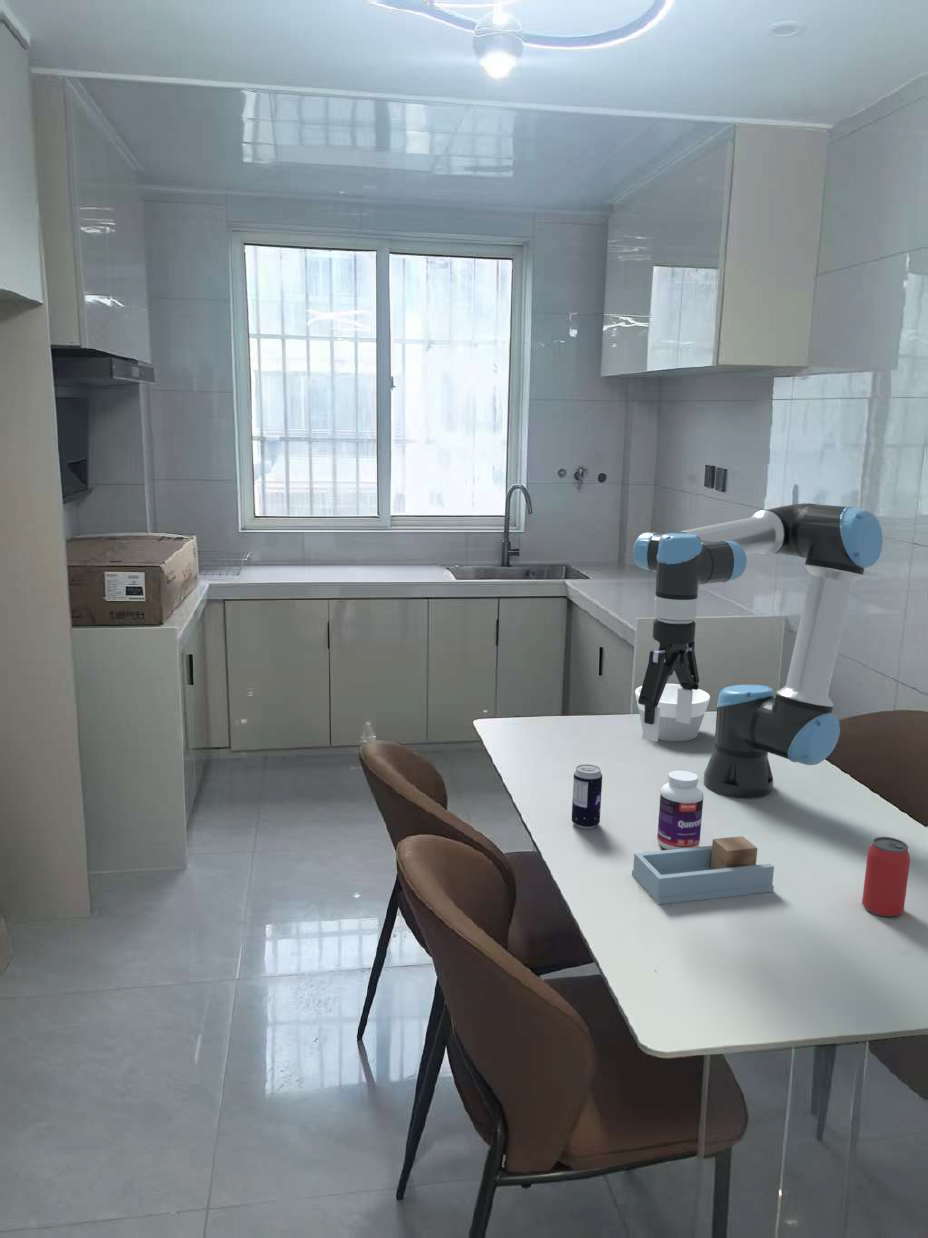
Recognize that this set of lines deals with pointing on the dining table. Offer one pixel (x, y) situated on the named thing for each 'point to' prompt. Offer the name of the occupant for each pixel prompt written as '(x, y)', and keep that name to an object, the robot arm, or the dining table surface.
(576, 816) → the beverage can
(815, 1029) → the dining table surface
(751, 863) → the walnut block
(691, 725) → the bowl
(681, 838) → the pill bottle
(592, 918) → the dining table surface
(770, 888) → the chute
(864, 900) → the beer can
